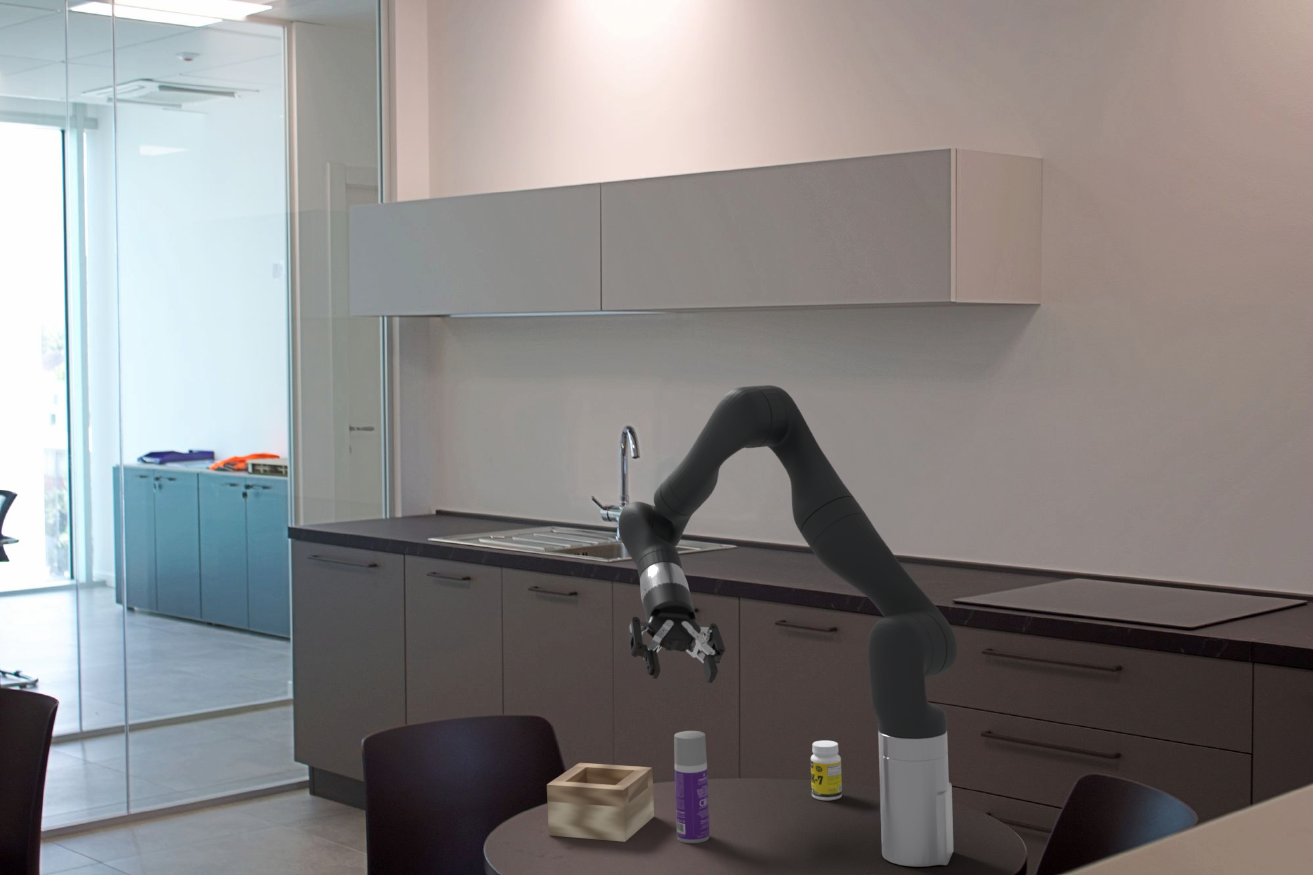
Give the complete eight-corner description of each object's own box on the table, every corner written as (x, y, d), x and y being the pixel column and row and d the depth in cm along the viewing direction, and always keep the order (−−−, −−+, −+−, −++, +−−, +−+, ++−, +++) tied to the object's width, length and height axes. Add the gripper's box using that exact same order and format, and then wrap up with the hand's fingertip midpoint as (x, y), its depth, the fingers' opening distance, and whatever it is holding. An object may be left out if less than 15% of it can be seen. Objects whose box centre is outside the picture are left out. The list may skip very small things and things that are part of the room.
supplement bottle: (806, 795, 218) (804, 742, 218) (831, 790, 220) (829, 737, 220) (822, 802, 214) (820, 748, 213) (848, 797, 216) (846, 744, 215)
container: (706, 843, 196) (703, 739, 196) (674, 842, 197) (670, 738, 197) (712, 833, 201) (708, 730, 200) (680, 832, 202) (676, 730, 201)
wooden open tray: (653, 816, 210) (652, 767, 209) (625, 841, 198) (623, 789, 198) (581, 810, 214) (579, 762, 214) (548, 835, 203) (546, 784, 202)
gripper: (628, 577, 211) (644, 656, 199) (716, 585, 215) (737, 663, 203) (616, 611, 215) (631, 691, 203) (702, 618, 219) (722, 697, 207)
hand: (684, 677), depth 203 cm, fingers open, 8 cm apart
